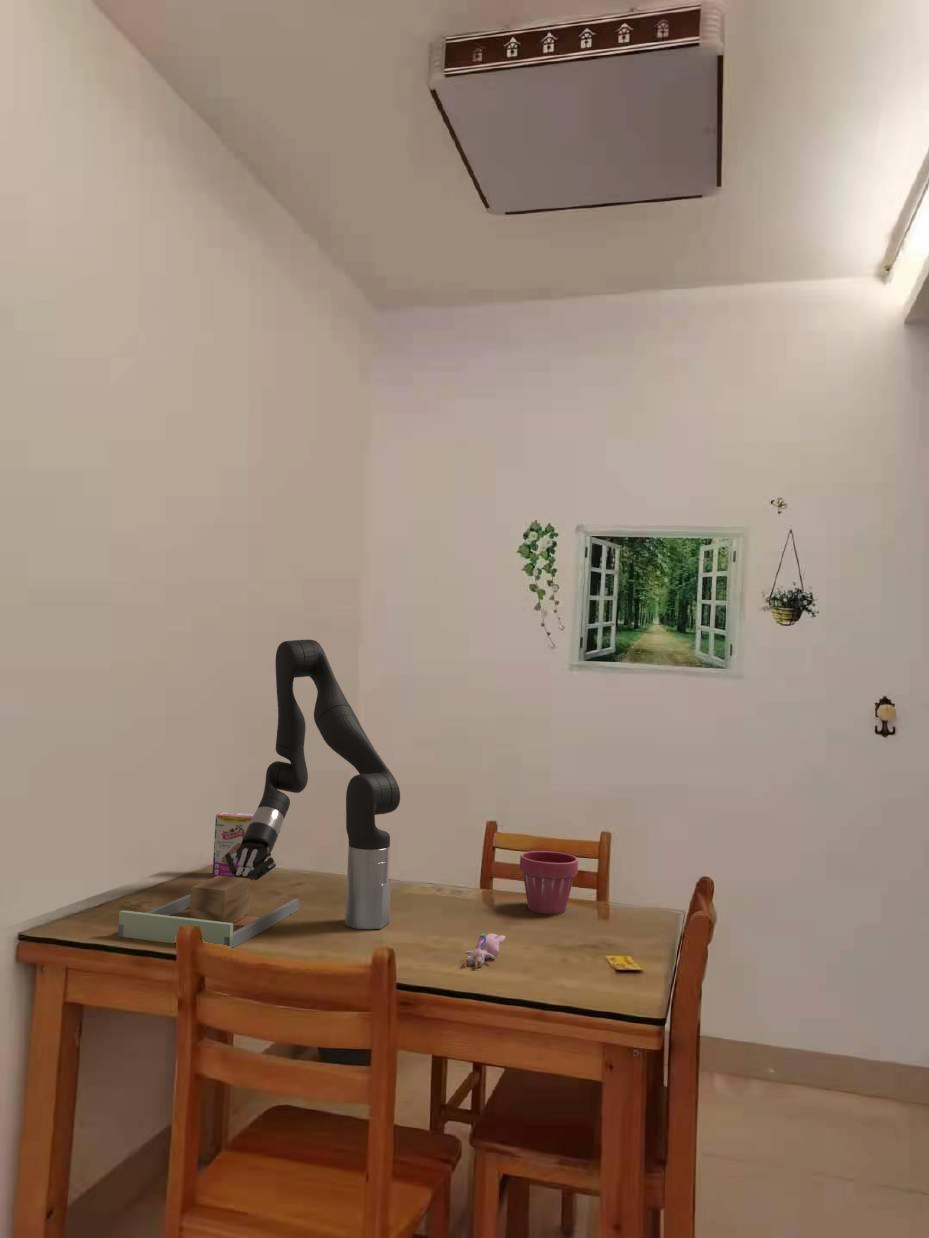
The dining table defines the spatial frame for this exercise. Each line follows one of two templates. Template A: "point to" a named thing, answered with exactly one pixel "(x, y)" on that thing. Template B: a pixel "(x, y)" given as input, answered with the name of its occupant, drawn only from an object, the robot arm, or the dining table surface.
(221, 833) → the candy bar box
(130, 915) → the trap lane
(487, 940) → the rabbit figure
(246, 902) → the walnut block
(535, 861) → the plant pot
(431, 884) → the dining table surface
